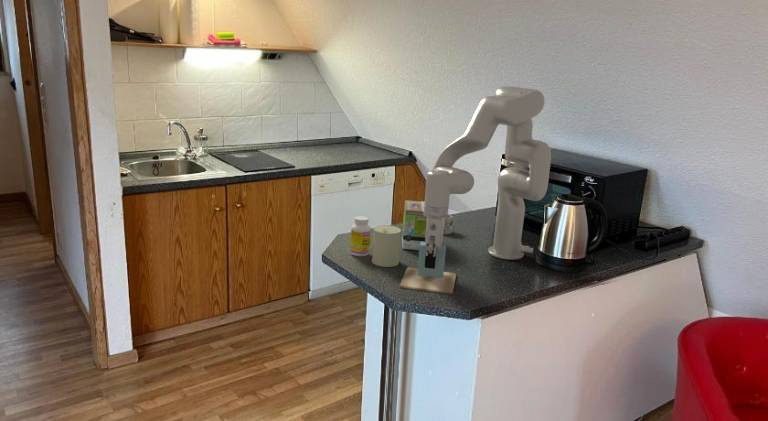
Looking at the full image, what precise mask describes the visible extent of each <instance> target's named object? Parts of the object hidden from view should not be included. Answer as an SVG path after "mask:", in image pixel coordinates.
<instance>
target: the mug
mask: <svg viewBox="0 0 768 421" xmlns="http://www.w3.org/2000/svg"><path fill="white" fill-rule="evenodd" d="M453 218H454V216H453V215H451V214H449V213H448V217H446V218H444V233H443V236H444V235H446V236H448V235H450V234H452V229H453Z"/></svg>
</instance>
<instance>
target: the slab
mask: <svg viewBox="0 0 768 421" xmlns="http://www.w3.org/2000/svg"><path fill="white" fill-rule="evenodd" d="M433 250H434V249H433ZM426 251H427V248H426V247H425V242H421V243H420V247H419V250H418V262H417V269H418V272H417V275H421V276H429V277H437V278H443V274H444V272H445V271H444V270H445V264H446V262H445V261H446V253H447V252H446V251H447V244H445V243H444V244H443V243H442V246H441V249H438V248H436V253H435V256H436V262H435V268H434V269H431V268H425V255H426Z"/></svg>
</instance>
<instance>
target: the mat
mask: <svg viewBox="0 0 768 421" xmlns="http://www.w3.org/2000/svg"><path fill="white" fill-rule="evenodd" d="M417 272H418V267H417V268H415V267H406V269H405V272H404V275H403V277H402V279H401V282H400V283H399V288H401V289H410V290H416V291H417V290H418V291H424V292H433V293H440V294H446V295H447V294H449V295H453V294H454V288H455V282H456V278H457V272H456V273H455V272H450V271H444V274H443V278H437V277H429V276H421V275H417Z"/></svg>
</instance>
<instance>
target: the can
mask: <svg viewBox="0 0 768 421" xmlns="http://www.w3.org/2000/svg"><path fill="white" fill-rule="evenodd" d="M401 238H402V229H401V228H399V227H398V226H393V225H382V224H381V225H376V226H375V227H374V228H373V241H372V242H373V243H372V256H371V258H372V259H371V263H372V264H373V265H376V266H378V267H384V268H390V267H391V268H392V267H396V266H398V265H399V263H400V246H401Z"/></svg>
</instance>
